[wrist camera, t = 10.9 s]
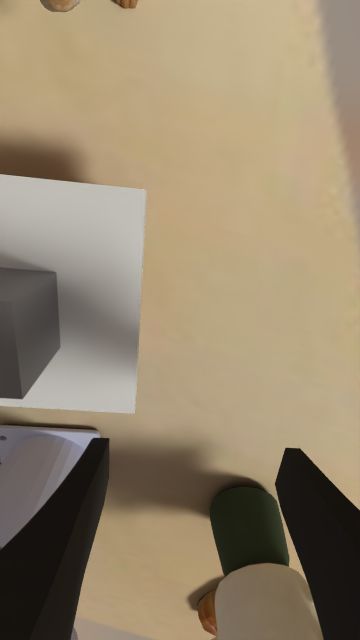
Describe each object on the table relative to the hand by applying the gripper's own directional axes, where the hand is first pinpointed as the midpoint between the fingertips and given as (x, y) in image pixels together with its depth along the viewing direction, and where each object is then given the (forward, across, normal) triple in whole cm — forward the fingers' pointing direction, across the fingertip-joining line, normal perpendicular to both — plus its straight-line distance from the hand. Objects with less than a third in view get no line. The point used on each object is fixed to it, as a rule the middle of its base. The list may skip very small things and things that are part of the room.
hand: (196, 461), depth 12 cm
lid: (+6, +9, -4) cm, 11 cm away
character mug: (+11, -7, +16) cm, 20 cm away
